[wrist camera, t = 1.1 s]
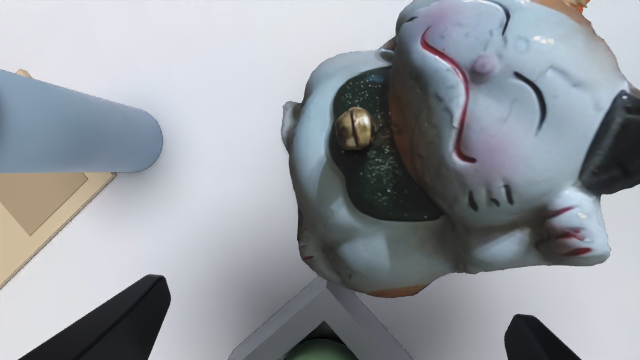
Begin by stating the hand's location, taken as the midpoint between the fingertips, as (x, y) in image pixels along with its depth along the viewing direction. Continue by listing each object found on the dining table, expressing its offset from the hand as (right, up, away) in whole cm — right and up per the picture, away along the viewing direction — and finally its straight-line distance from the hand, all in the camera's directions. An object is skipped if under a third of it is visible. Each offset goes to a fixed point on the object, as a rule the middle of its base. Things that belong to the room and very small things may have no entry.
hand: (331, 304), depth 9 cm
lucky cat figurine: (+5, +6, +13) cm, 15 cm away
